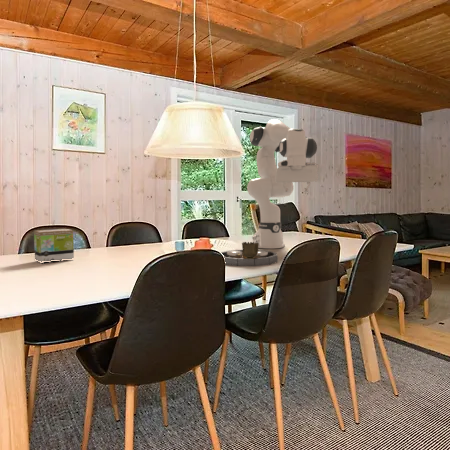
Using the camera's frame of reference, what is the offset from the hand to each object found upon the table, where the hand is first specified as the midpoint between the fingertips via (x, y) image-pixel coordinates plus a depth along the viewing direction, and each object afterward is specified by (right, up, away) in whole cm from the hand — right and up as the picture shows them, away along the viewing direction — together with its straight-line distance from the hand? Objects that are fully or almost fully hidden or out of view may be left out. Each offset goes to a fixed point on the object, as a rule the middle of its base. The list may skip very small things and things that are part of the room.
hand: (296, 191), depth 190 cm
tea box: (-115, -33, -3) cm, 119 cm away
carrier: (-24, -32, -9) cm, 41 cm away
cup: (-23, -32, -15) cm, 42 cm away
